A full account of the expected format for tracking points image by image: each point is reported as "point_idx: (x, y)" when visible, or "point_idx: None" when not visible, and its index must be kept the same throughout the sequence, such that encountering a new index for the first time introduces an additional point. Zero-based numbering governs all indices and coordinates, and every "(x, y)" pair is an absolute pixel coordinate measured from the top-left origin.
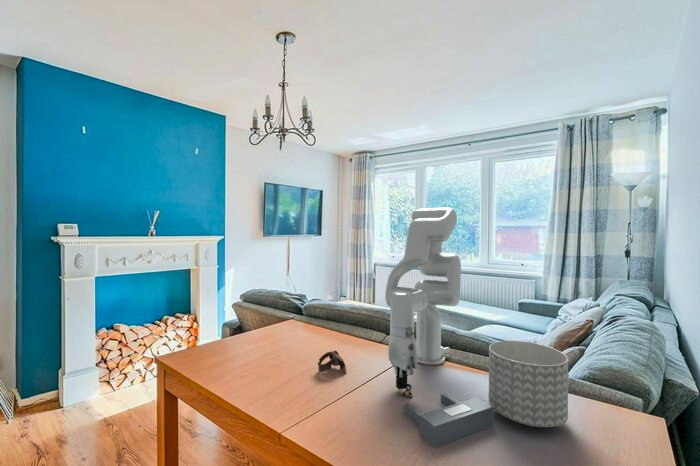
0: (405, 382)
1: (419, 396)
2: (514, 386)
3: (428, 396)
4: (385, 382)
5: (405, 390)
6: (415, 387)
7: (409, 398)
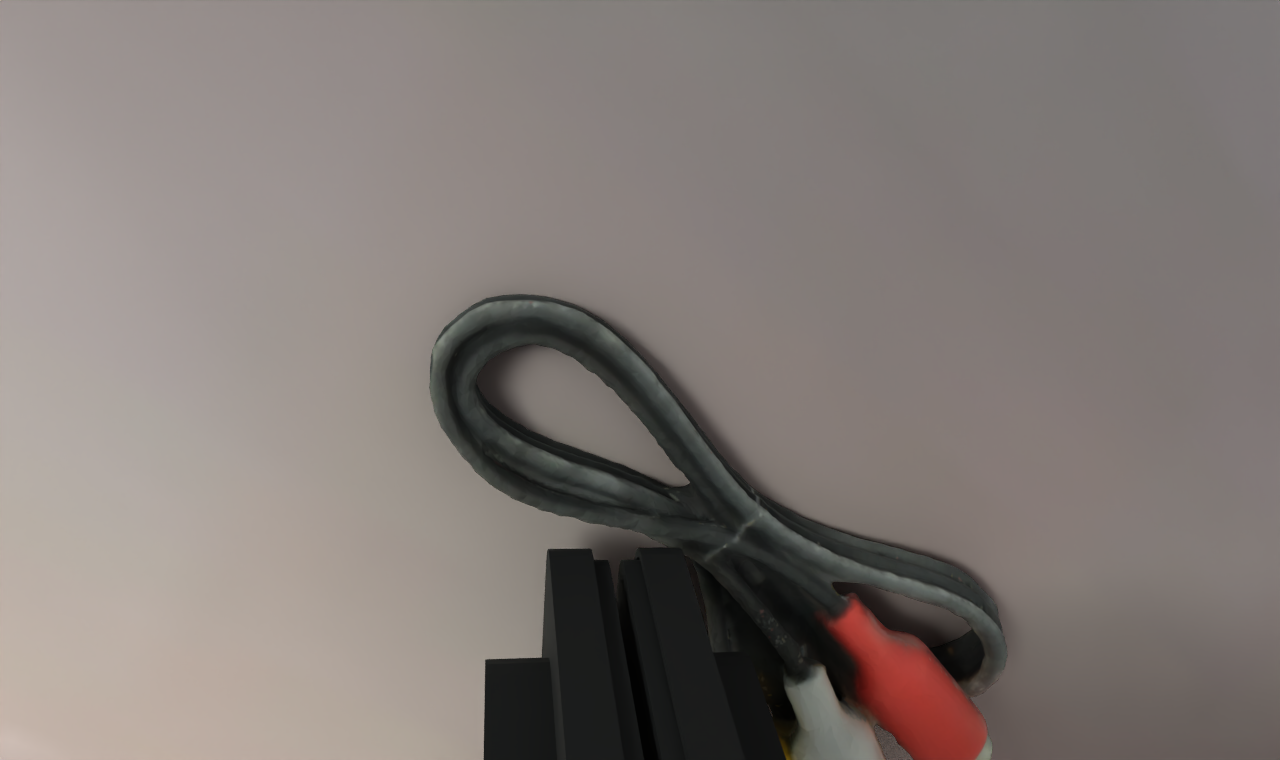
0: (765, 748)
1: (1038, 427)
2: None
3: (1183, 246)
4: (47, 711)
5: (870, 737)
6: (653, 216)
7: (969, 652)
